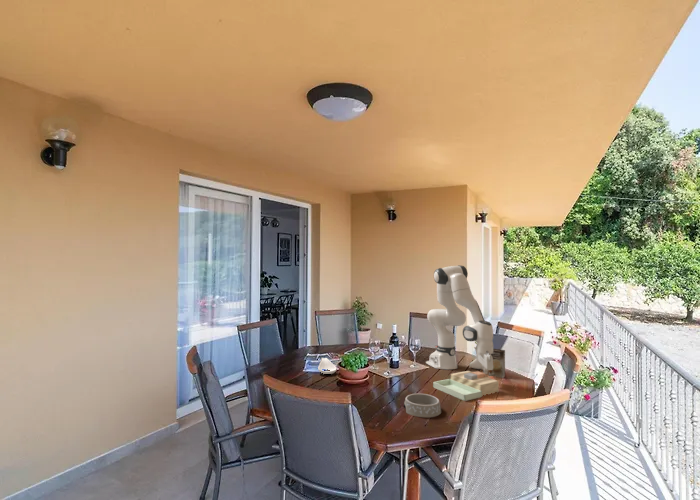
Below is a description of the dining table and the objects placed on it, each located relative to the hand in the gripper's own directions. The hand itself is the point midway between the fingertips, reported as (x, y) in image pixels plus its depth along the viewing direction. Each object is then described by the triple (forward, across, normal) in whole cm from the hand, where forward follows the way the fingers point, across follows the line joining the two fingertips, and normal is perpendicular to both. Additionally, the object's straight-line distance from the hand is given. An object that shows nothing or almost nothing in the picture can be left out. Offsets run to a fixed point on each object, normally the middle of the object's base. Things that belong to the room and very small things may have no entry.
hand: (485, 373), depth 216 cm
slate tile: (+1, -6, +10) cm, 12 cm away
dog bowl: (+8, -39, +40) cm, 57 cm away
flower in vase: (+7, +37, -5) cm, 38 cm away
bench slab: (+7, -5, +8) cm, 12 cm away
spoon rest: (+7, +19, +96) cm, 99 cm away
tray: (+7, -12, +19) cm, 24 cm away
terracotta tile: (+1, -3, +5) cm, 6 cm away
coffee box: (+7, +20, -12) cm, 25 cm away
